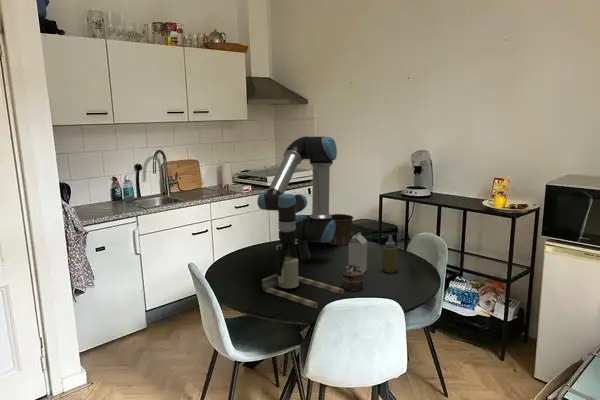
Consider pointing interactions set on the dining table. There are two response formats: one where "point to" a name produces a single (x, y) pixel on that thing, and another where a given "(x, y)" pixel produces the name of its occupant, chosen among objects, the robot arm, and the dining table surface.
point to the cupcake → (352, 278)
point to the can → (290, 273)
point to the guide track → (273, 282)
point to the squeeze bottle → (390, 256)
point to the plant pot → (341, 229)
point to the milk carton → (358, 252)
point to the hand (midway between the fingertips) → (288, 279)
